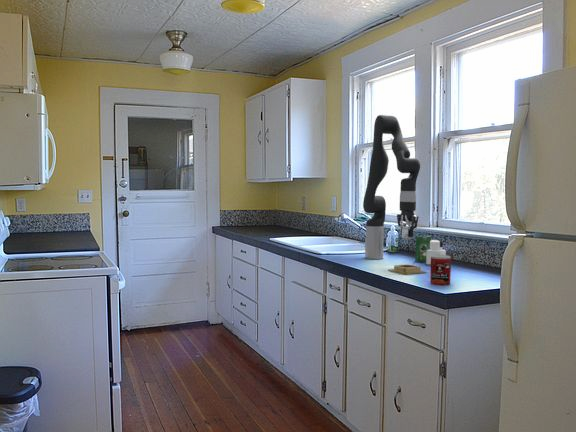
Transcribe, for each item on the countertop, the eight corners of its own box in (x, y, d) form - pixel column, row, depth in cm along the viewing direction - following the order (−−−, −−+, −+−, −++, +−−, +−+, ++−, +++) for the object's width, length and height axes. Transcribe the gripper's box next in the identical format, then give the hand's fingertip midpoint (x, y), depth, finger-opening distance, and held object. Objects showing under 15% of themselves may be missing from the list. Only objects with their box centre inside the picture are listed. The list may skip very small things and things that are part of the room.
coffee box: (426, 260, 273) (427, 235, 272) (430, 261, 270) (431, 235, 269) (414, 261, 269) (415, 236, 268) (418, 262, 266) (419, 236, 265)
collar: (388, 270, 240) (388, 265, 240) (409, 269, 245) (409, 263, 245) (404, 274, 229) (404, 269, 229) (426, 273, 234) (426, 267, 234)
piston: (399, 237, 251) (399, 226, 251) (407, 237, 253) (408, 226, 253) (405, 238, 247) (406, 227, 246) (414, 238, 249) (414, 226, 248)
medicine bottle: (432, 262, 265) (432, 239, 265) (445, 264, 261) (446, 240, 260) (425, 264, 260) (426, 240, 259) (439, 265, 255) (440, 241, 255)
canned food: (429, 284, 207) (429, 256, 207) (431, 281, 215) (431, 254, 214) (449, 286, 205) (450, 257, 204) (451, 282, 212) (451, 255, 212)
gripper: (392, 200, 254) (391, 235, 255) (410, 201, 241) (409, 238, 242) (405, 200, 257) (404, 234, 258) (424, 201, 244) (423, 237, 245)
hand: (406, 236), depth 250 cm, fingers closed on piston, 5 cm apart
